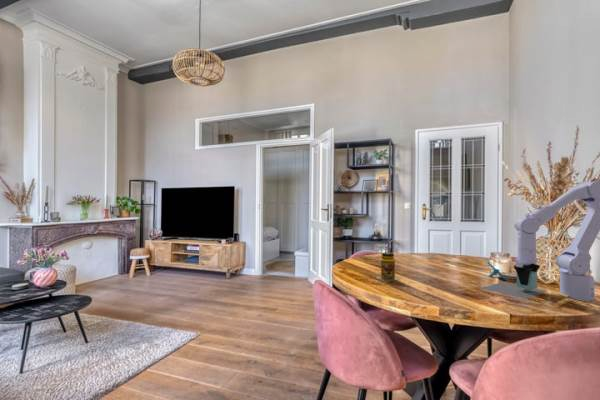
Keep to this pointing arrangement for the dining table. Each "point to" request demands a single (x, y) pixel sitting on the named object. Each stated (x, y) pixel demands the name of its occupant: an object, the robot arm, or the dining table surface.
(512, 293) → the post board
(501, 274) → the teal bent piece
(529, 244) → the robot arm
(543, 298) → the dining table surface
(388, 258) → the condiment
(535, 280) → the teal block
